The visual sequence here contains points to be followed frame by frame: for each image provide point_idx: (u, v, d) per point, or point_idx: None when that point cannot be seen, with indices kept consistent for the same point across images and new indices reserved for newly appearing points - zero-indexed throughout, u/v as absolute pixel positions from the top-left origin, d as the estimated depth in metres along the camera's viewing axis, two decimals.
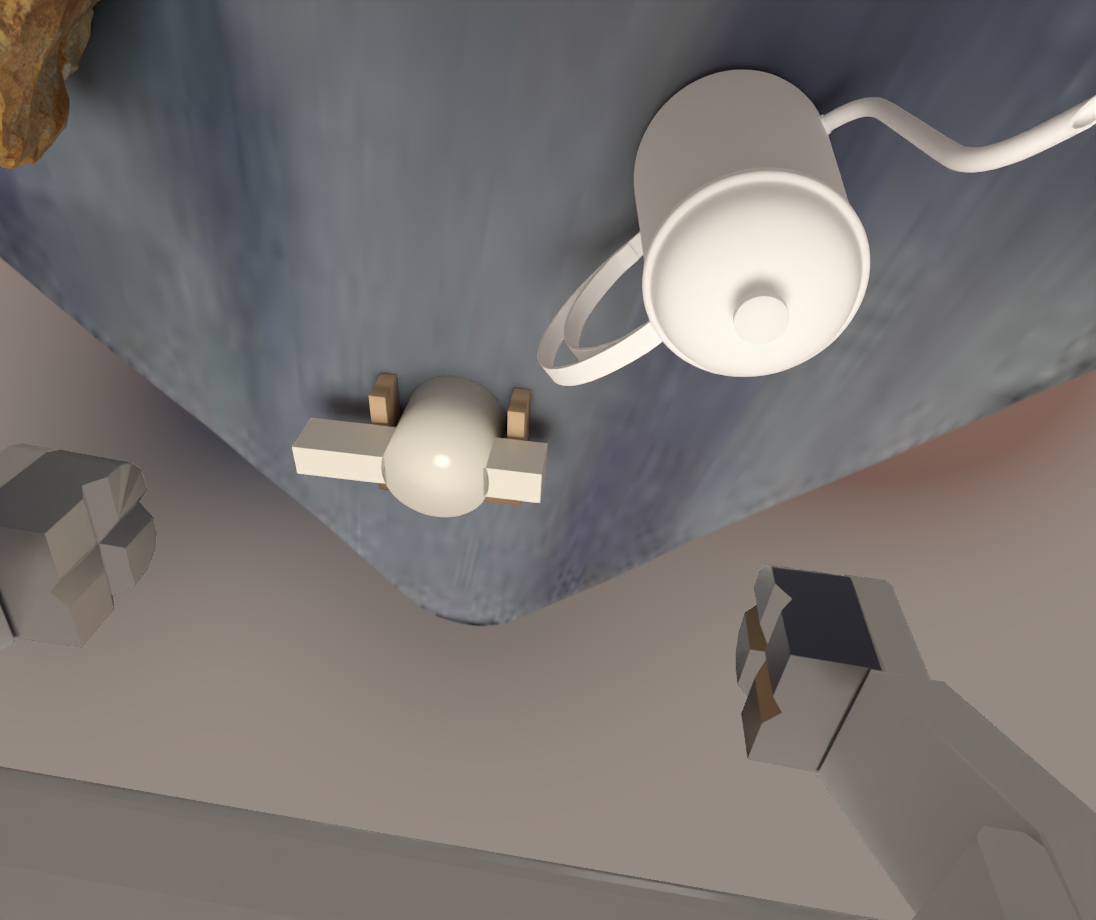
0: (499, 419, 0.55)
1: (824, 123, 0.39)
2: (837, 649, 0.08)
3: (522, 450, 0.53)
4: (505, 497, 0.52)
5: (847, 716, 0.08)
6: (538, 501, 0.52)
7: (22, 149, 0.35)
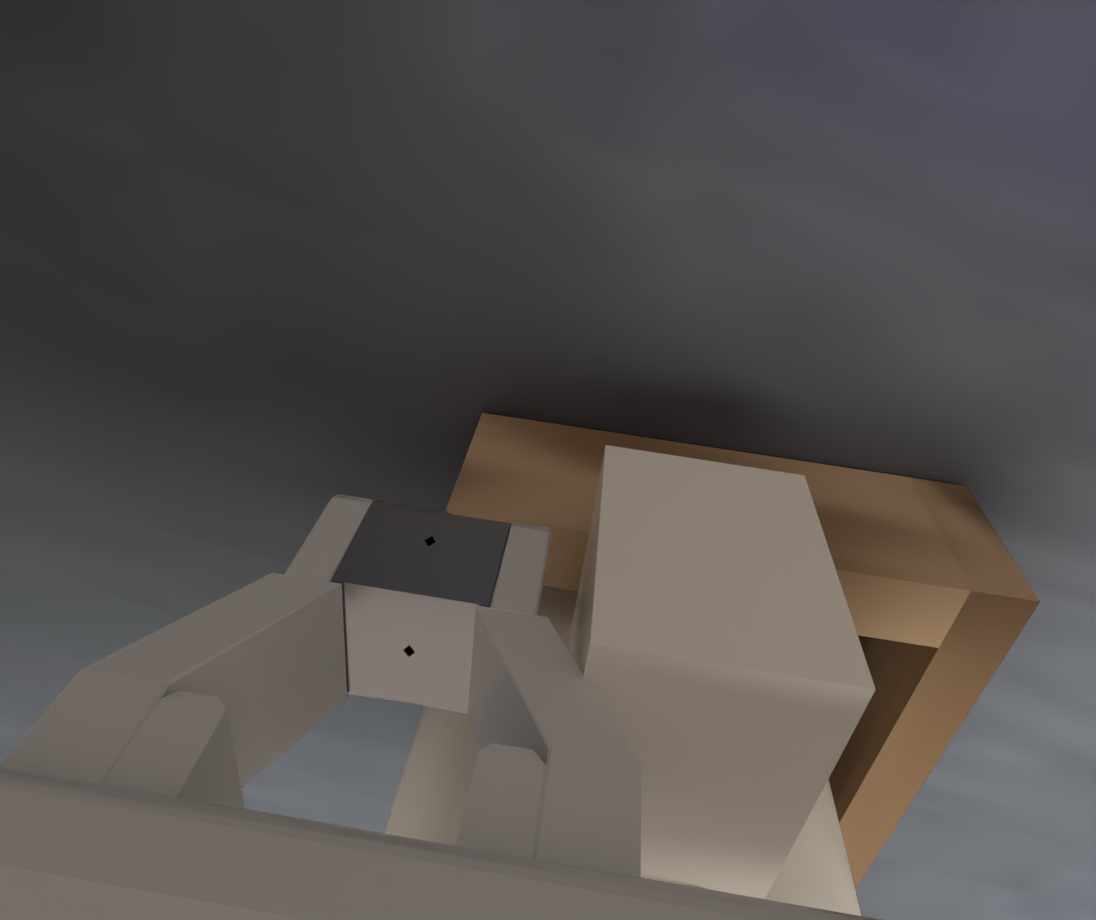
0: None
1: None
2: (455, 587, 0.08)
3: (582, 600, 0.10)
4: (783, 838, 0.08)
5: (474, 654, 0.08)
6: (857, 695, 0.07)
7: None
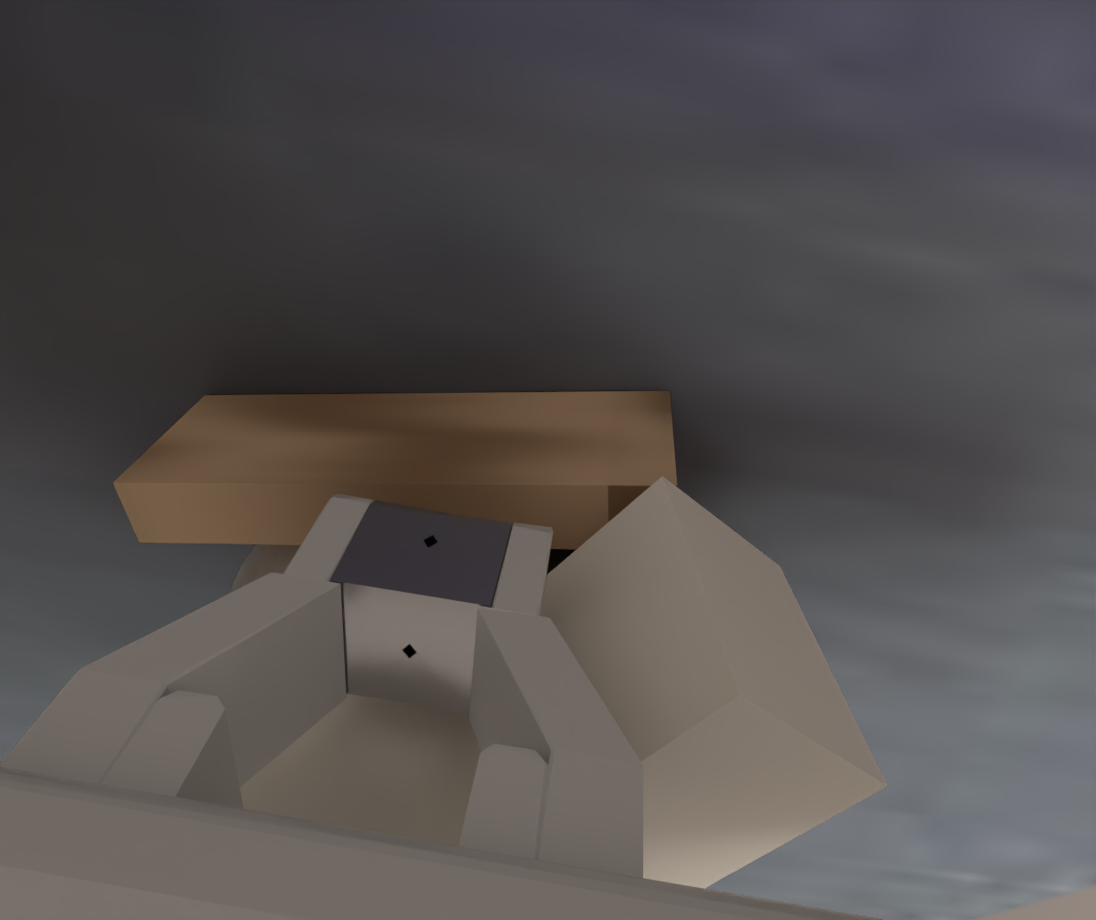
0: None
1: None
2: (456, 588, 0.08)
3: (585, 611, 0.10)
4: (710, 877, 0.09)
5: (475, 655, 0.08)
6: (872, 787, 0.08)
7: None
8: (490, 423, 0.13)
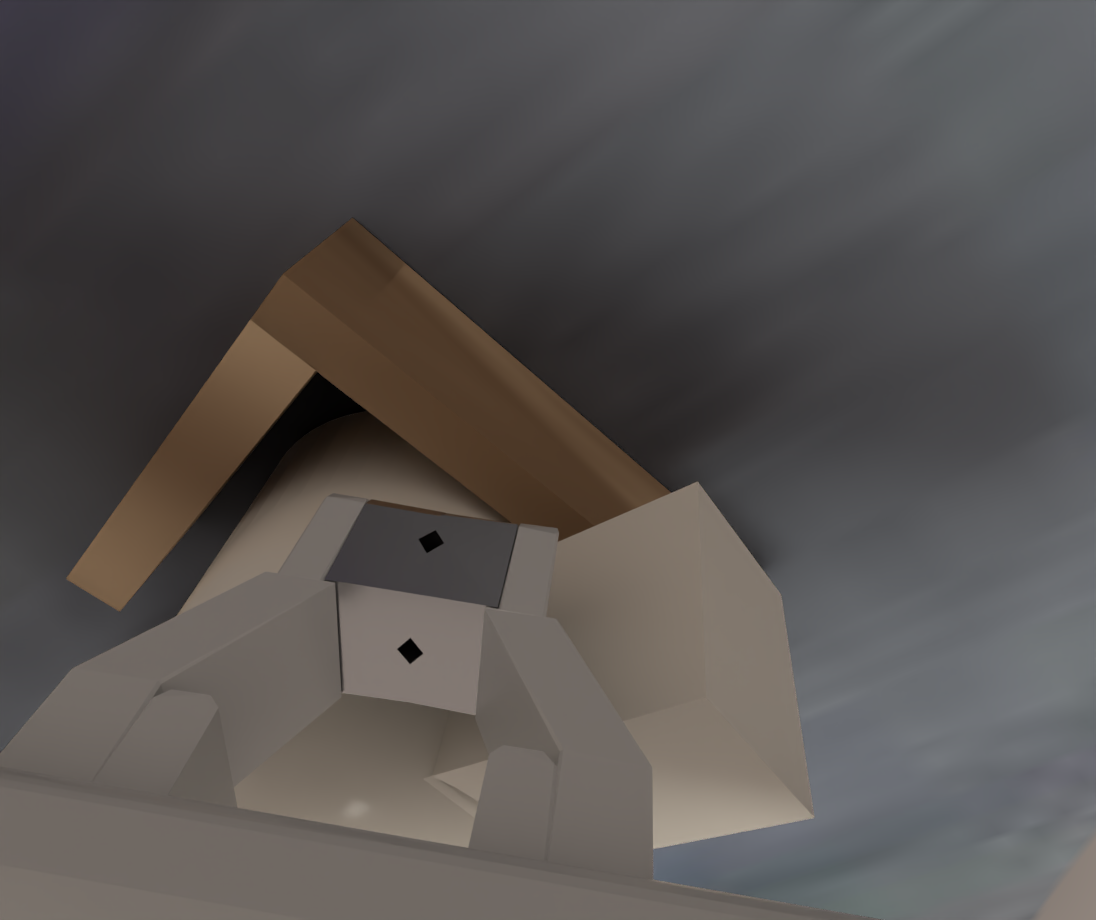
0: None
1: None
2: (463, 589, 0.08)
3: (591, 581, 0.10)
4: None
5: (481, 656, 0.08)
6: (800, 814, 0.09)
7: None
8: None
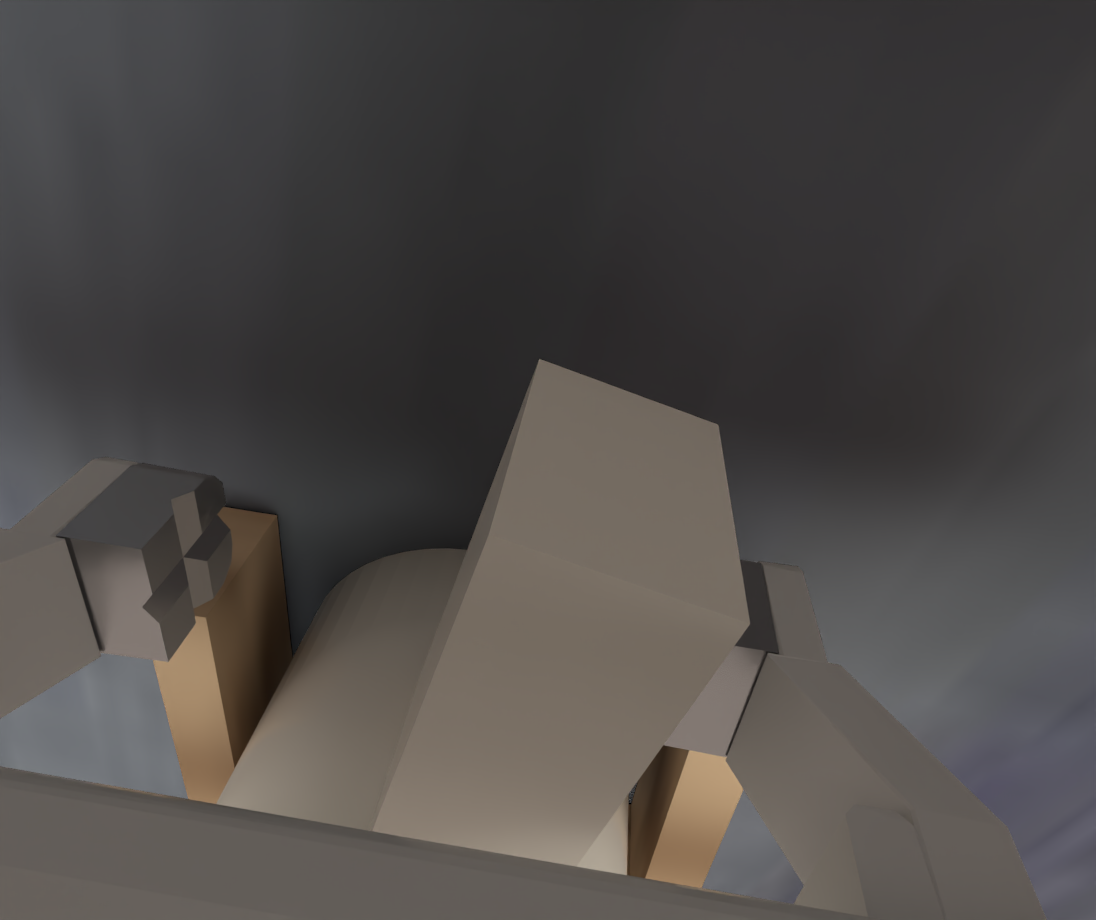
0: None
1: None
2: None
3: None
4: None
5: (750, 700, 0.08)
6: None
7: None
8: None
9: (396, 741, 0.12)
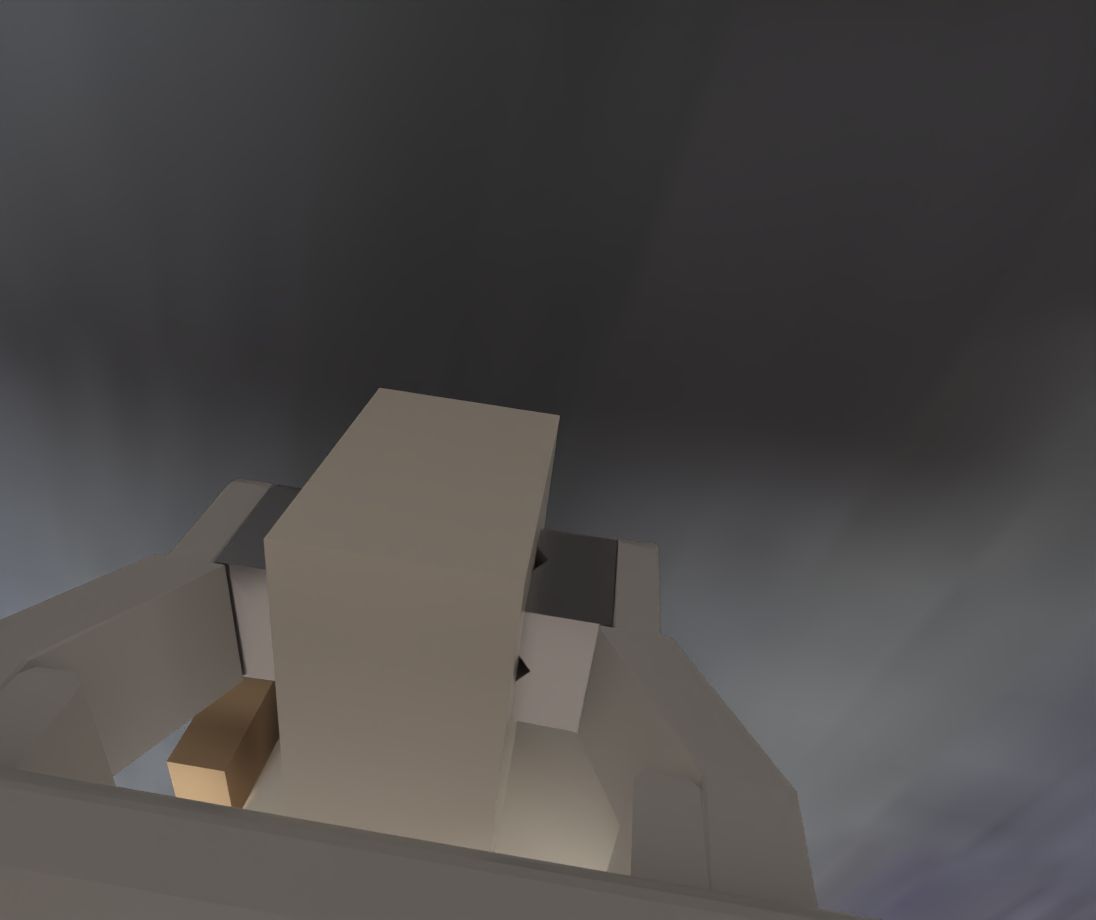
0: None
1: None
2: (575, 607, 0.08)
3: None
4: None
5: (591, 673, 0.08)
6: None
7: None
8: None
9: None
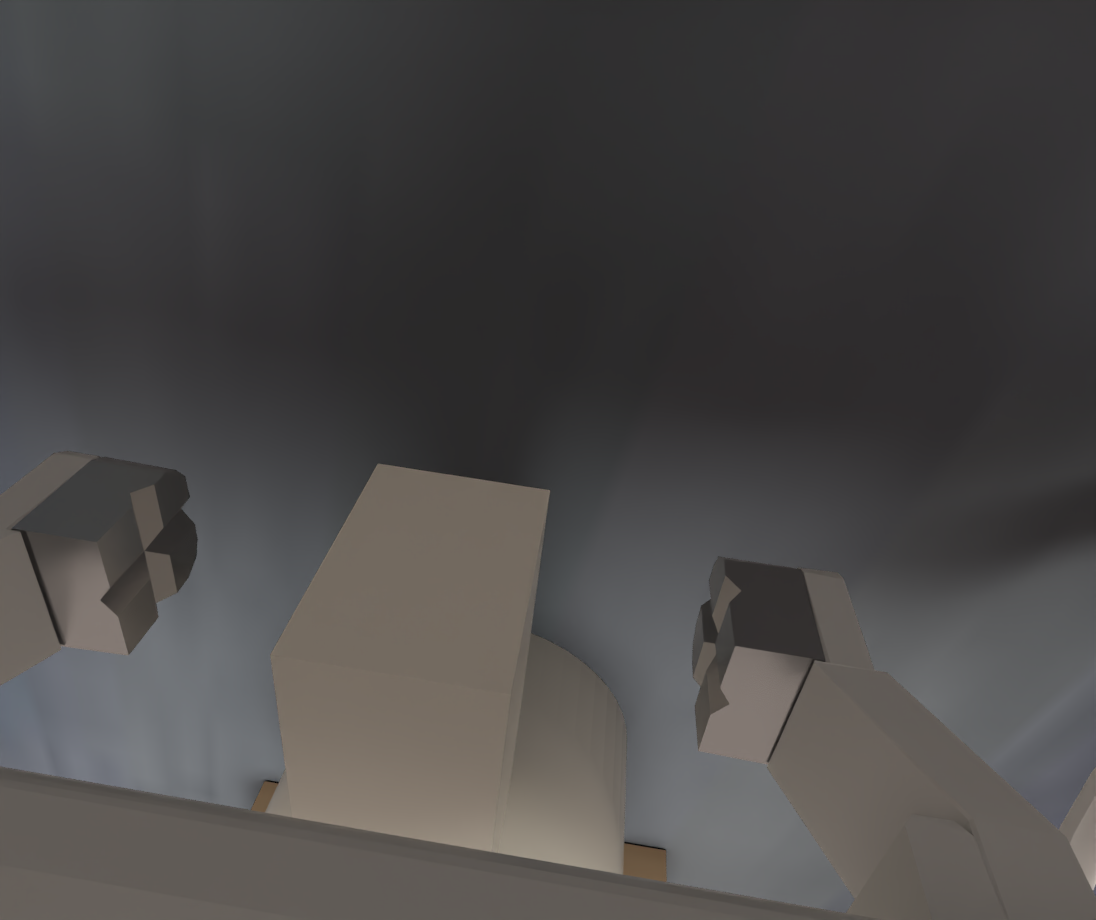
0: None
1: None
2: (782, 640, 0.08)
3: None
4: None
5: (794, 707, 0.08)
6: None
7: None
8: None
9: None
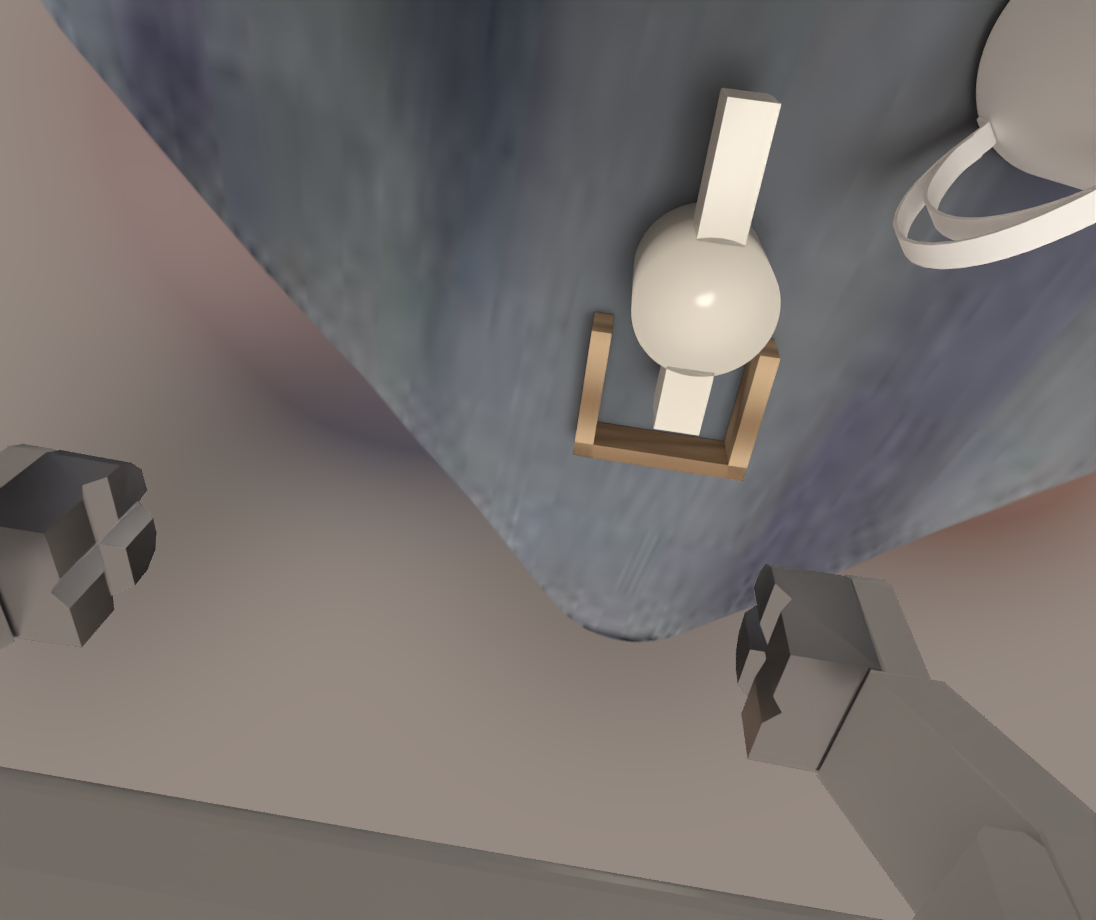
0: None
1: None
2: (837, 649, 0.08)
3: None
4: (664, 391, 0.42)
5: (847, 716, 0.08)
6: (656, 427, 0.43)
7: None
8: None
9: (693, 226, 0.39)
